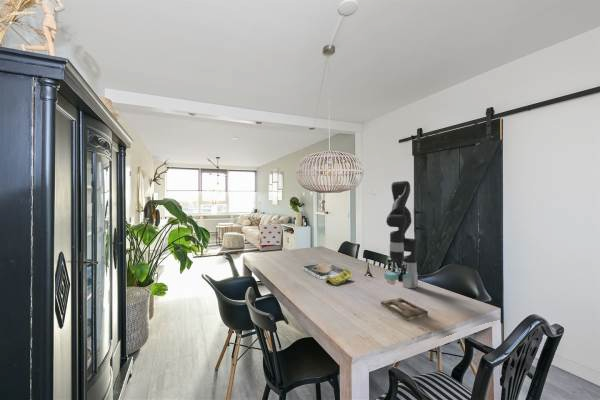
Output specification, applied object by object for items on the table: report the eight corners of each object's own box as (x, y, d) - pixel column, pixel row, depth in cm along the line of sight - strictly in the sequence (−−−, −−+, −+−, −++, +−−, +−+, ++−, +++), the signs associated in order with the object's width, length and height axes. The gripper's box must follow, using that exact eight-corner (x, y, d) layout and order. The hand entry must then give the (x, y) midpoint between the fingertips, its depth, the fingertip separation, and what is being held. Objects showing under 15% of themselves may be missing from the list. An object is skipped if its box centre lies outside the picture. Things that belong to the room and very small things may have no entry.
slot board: (400, 301, 158) (400, 297, 158) (427, 315, 139) (427, 311, 139) (381, 305, 153) (381, 301, 153) (406, 320, 134) (406, 315, 134)
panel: (403, 280, 155) (403, 270, 155) (409, 282, 150) (409, 272, 150) (384, 282, 150) (384, 272, 150) (390, 285, 145) (390, 275, 145)
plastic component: (335, 282, 188) (326, 273, 194) (333, 290, 190) (324, 281, 197) (354, 275, 200) (345, 267, 206) (351, 283, 203) (342, 274, 209)
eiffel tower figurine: (380, 278, 207) (380, 260, 206) (369, 279, 203) (369, 262, 203) (368, 273, 221) (368, 257, 220) (358, 274, 217) (358, 258, 217)
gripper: (411, 251, 145) (411, 283, 145) (393, 247, 158) (393, 276, 158) (400, 252, 142) (400, 284, 142) (383, 248, 155) (383, 277, 156)
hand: (396, 280), depth 150 cm, fingers closed on panel, 5 cm apart
